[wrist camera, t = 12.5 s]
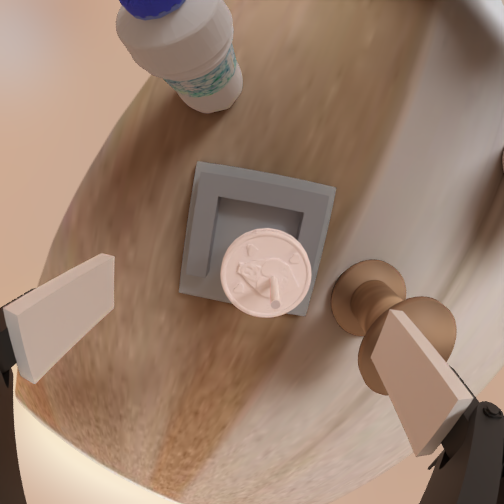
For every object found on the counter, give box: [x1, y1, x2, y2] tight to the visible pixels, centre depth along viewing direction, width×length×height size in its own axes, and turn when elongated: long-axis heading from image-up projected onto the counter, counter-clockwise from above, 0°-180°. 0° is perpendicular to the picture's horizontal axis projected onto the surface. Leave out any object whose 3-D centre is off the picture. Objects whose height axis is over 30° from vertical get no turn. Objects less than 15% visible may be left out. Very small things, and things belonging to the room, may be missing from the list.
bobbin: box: [331, 260, 456, 395], centre depth 25 cm, size 9×9×12 cm
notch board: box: [179, 161, 336, 316], centre depth 29 cm, size 14×14×3 cm
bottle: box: [116, 0, 243, 114], centre depth 17 cm, size 7×7×20 cm
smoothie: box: [220, 228, 312, 318], centre depth 22 cm, size 6×6×14 cm
